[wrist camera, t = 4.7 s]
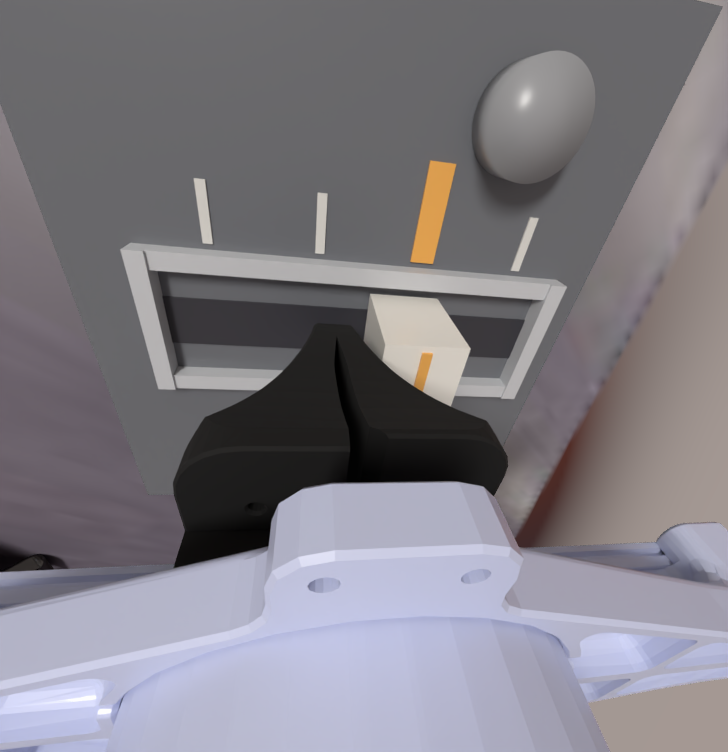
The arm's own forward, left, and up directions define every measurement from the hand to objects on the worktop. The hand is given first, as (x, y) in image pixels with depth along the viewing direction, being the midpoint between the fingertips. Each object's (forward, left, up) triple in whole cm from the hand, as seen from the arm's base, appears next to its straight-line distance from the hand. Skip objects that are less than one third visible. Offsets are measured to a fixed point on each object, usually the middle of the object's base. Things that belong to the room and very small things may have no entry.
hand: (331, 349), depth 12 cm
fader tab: (0, -3, -1) cm, 3 cm away
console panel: (0, -1, -3) cm, 3 cm away
